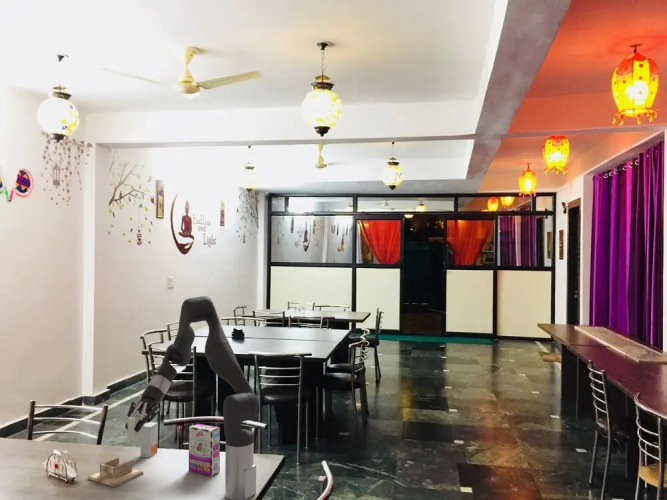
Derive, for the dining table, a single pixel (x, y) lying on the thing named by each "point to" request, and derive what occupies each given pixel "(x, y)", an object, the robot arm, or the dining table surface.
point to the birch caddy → (115, 473)
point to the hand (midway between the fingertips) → (131, 429)
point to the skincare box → (149, 440)
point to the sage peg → (131, 433)
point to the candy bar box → (204, 449)
